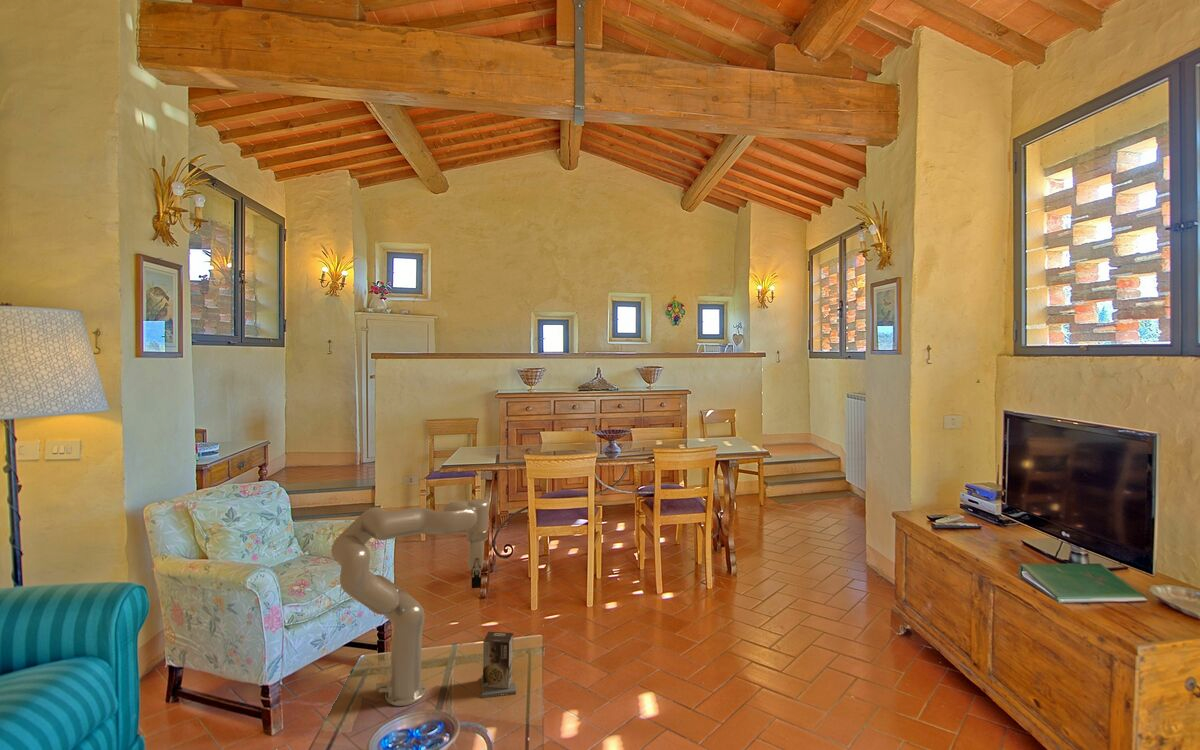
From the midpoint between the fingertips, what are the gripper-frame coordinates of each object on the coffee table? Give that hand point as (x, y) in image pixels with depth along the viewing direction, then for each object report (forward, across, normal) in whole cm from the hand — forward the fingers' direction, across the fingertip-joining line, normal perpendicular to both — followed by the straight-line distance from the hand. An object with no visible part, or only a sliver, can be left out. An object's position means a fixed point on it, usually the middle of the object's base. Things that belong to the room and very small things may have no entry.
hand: (476, 581), depth 195 cm
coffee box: (+31, +12, +8) cm, 34 cm away
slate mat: (+31, +13, +8) cm, 35 cm away
